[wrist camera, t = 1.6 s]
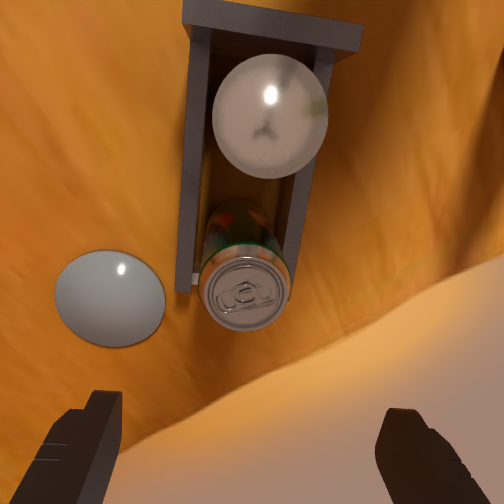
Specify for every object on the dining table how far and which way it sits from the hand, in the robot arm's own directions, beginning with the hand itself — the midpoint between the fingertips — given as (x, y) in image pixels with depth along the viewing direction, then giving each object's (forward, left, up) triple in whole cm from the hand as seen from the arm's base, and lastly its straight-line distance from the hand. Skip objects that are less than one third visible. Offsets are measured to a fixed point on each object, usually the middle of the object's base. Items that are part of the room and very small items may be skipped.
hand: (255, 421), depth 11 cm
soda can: (0, 0, -20) cm, 20 cm away
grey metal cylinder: (-8, 0, -20) cm, 22 cm away
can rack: (-4, 0, -20) cm, 21 cm away
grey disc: (+8, -10, -20) cm, 24 cm away
